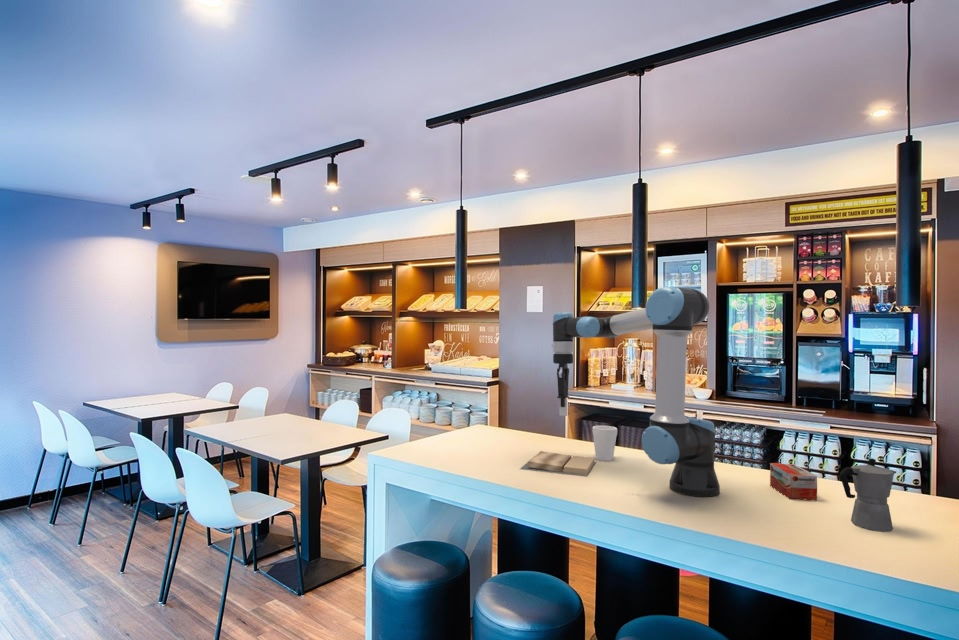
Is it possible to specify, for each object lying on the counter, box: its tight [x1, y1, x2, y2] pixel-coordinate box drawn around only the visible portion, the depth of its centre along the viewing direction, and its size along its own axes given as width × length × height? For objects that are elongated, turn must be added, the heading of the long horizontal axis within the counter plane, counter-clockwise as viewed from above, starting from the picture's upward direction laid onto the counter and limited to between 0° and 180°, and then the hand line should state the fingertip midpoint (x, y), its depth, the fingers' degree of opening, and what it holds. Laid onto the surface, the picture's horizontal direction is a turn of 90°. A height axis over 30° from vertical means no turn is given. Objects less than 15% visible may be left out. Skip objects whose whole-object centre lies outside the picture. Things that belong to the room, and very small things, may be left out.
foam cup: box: [591, 425, 618, 462], centre depth 213 cm, size 10×9×13 cm
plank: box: [528, 450, 572, 472], centre depth 202 cm, size 12×18×2 cm, turn 160°
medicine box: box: [769, 462, 818, 502], centre depth 176 cm, size 15×8×8 cm, turn 175°
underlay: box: [519, 455, 597, 477], centre depth 201 cm, size 24×22×3 cm
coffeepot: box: [839, 457, 897, 533], centre depth 147 cm, size 15×9×18 cm, turn 93°
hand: (563, 415), depth 207 cm, fingers closed
